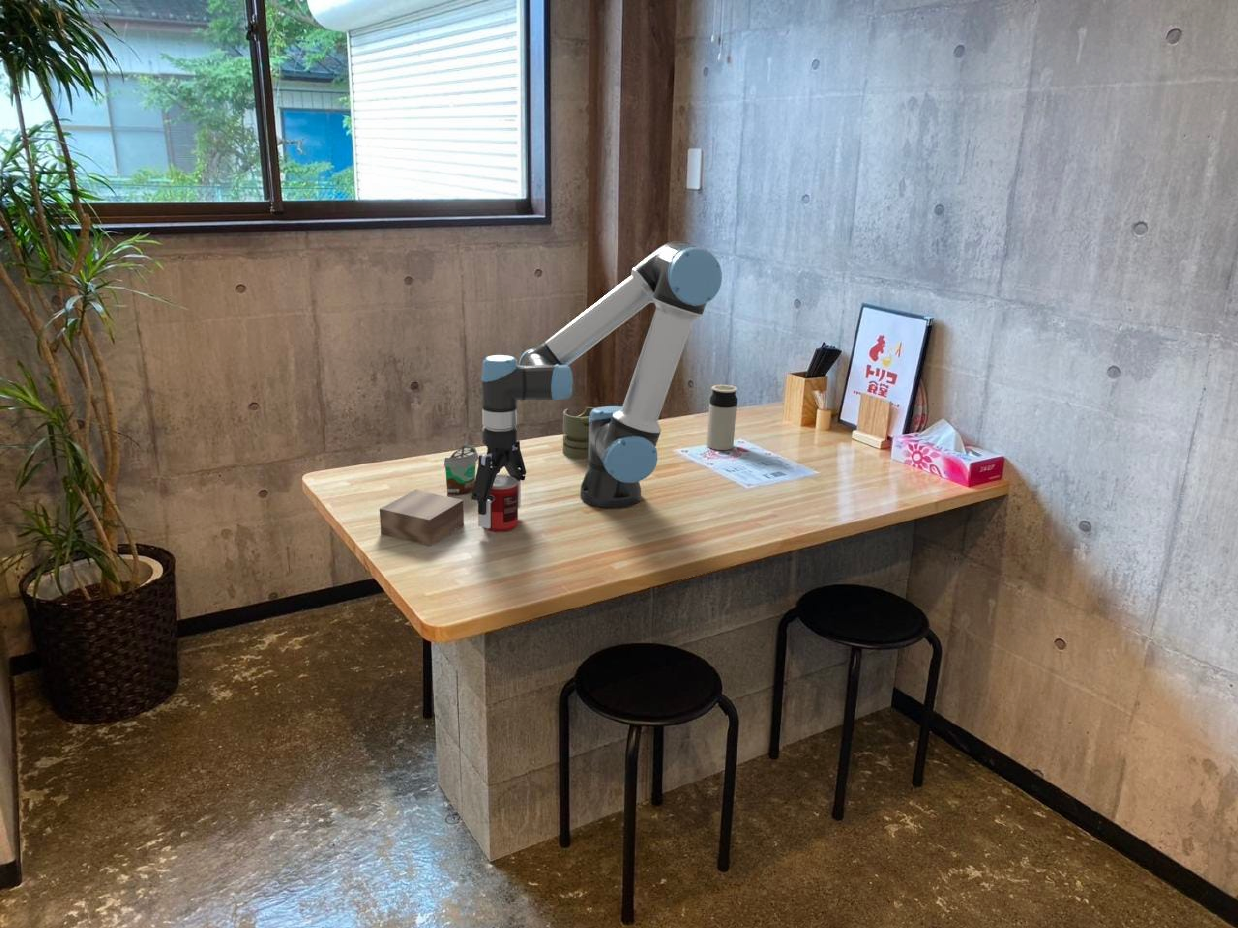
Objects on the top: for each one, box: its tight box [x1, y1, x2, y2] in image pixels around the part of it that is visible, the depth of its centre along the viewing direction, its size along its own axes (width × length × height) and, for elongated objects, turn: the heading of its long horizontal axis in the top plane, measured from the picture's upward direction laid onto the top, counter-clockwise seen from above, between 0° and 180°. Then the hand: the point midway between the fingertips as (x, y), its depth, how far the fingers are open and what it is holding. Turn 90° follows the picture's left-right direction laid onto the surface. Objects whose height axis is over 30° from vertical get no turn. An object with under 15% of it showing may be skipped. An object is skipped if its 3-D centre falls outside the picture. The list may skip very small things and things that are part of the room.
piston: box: [562, 406, 595, 460], centre depth 249 cm, size 11×12×11 cm
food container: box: [443, 443, 479, 496], centre depth 219 cm, size 12×6×10 cm, turn 168°
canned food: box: [485, 474, 519, 533], centre depth 199 cm, size 8×8×11 cm
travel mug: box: [706, 384, 738, 451], centre depth 257 cm, size 8×8×18 cm
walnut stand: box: [379, 489, 465, 547], centre depth 197 cm, size 13×13×6 cm
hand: (500, 516), depth 200 cm, fingers open, 12 cm apart
